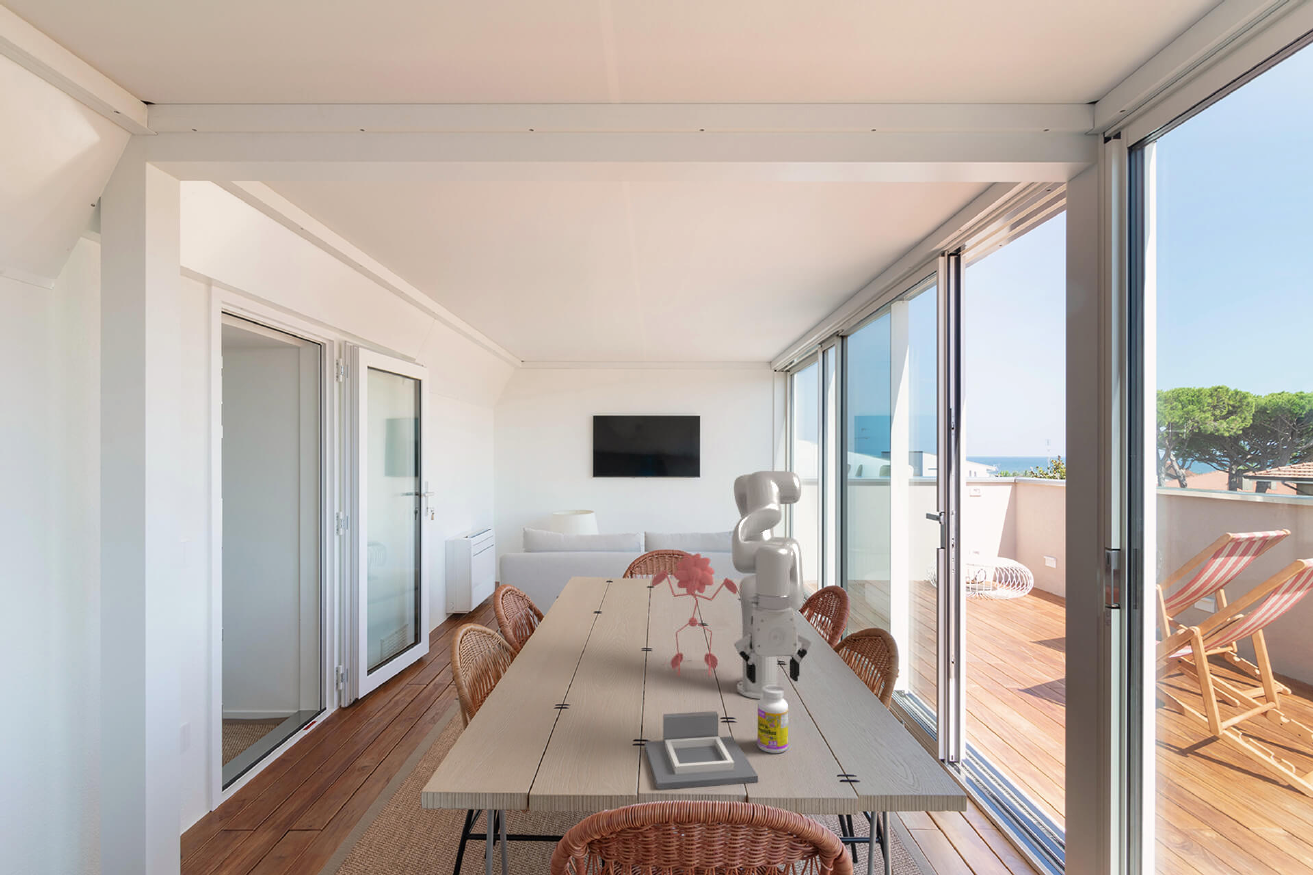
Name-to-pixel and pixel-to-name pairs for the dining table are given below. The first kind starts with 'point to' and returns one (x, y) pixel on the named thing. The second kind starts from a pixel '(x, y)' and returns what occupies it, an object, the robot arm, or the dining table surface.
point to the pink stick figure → (694, 578)
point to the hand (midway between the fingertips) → (772, 680)
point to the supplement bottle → (772, 720)
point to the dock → (696, 754)
